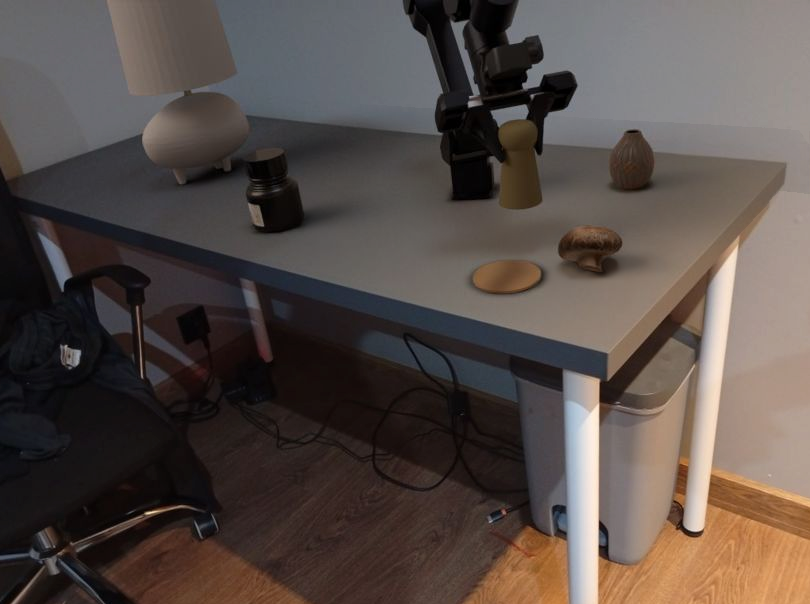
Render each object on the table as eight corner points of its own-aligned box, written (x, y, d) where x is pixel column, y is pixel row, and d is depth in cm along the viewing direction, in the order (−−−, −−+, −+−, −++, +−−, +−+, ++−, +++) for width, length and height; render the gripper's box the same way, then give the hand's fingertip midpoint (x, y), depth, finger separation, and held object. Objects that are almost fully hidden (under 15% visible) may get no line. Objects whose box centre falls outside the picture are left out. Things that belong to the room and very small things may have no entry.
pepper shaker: (550, 203, 100) (548, 121, 94) (509, 213, 98) (505, 131, 93) (530, 189, 105) (528, 112, 99) (491, 199, 103) (486, 121, 98)
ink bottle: (260, 215, 130) (243, 148, 124) (308, 209, 130) (294, 142, 123) (248, 237, 122) (230, 167, 116) (300, 231, 121) (284, 160, 115)
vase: (655, 191, 115) (657, 136, 111) (609, 194, 117) (610, 139, 113) (651, 176, 121) (654, 123, 116) (608, 179, 123) (609, 126, 118)
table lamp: (181, 200, 144) (112, -26, 123) (137, 182, 158) (68, -23, 138) (278, 165, 155) (231, -48, 134) (229, 151, 170) (178, -42, 149)
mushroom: (606, 264, 89) (599, 214, 90) (550, 278, 95) (543, 231, 95) (635, 269, 95) (628, 223, 96) (581, 282, 101) (574, 238, 101)
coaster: (468, 294, 95) (468, 291, 95) (477, 263, 102) (477, 260, 102) (538, 293, 92) (538, 290, 92) (543, 262, 100) (543, 259, 100)
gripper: (430, 29, 92) (461, 139, 88) (571, 4, 93) (607, 111, 90) (423, 81, 102) (450, 182, 99) (550, 58, 104) (581, 156, 101)
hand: (521, 157), depth 97 cm, fingers closed on pepper shaker, 5 cm apart
